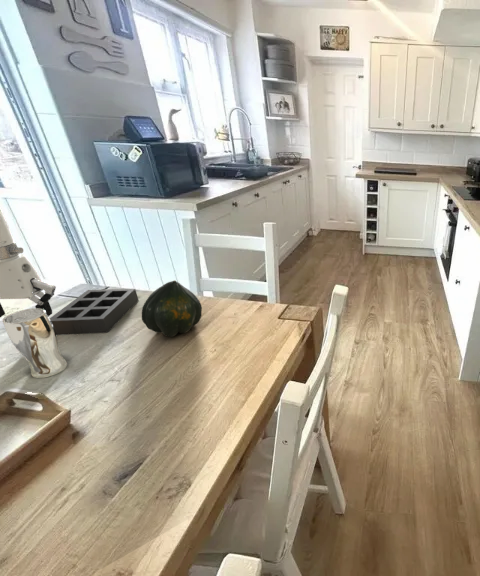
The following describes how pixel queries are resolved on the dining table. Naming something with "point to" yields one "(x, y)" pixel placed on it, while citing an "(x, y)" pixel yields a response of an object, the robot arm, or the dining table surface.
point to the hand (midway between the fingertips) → (23, 316)
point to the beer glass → (35, 341)
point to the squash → (171, 309)
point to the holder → (94, 311)
